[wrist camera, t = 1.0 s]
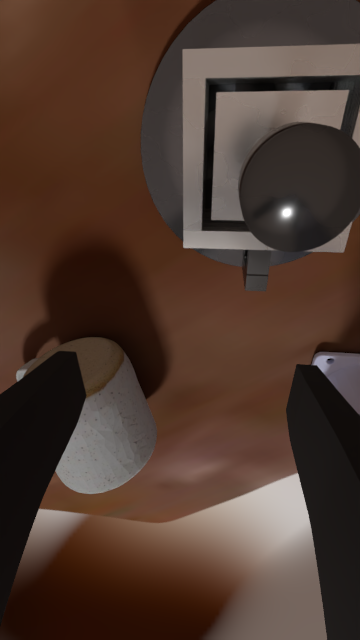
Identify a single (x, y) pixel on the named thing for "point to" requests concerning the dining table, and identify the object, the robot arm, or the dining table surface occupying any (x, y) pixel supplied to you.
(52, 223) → the dining table surface
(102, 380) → the ceramic mug
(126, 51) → the dining table surface
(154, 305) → the dining table surface
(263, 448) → the dining table surface
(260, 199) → the plunger
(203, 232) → the press
